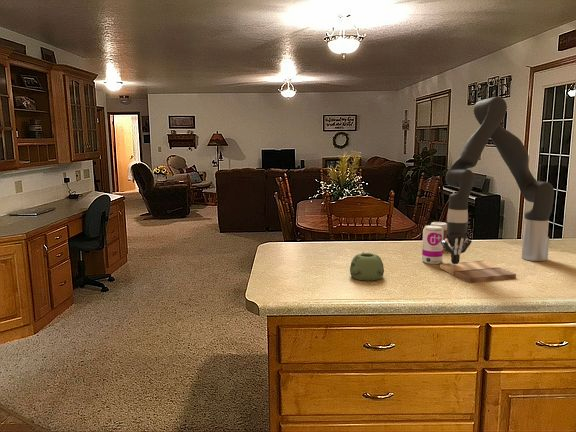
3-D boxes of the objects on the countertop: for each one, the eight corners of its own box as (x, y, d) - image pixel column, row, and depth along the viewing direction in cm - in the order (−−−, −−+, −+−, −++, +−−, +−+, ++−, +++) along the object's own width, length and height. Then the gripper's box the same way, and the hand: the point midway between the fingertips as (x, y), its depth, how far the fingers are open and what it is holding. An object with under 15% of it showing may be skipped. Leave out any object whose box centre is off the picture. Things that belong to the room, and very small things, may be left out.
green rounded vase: (387, 282, 175) (388, 258, 174) (352, 282, 175) (352, 259, 174) (378, 270, 191) (378, 248, 190) (345, 270, 191) (346, 249, 189)
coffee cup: (424, 246, 231) (425, 221, 229) (443, 245, 232) (444, 221, 230) (432, 250, 222) (433, 225, 220) (451, 250, 223) (452, 224, 221)
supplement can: (443, 264, 198) (444, 229, 195) (422, 263, 199) (423, 228, 197) (441, 259, 206) (442, 225, 203) (421, 259, 207) (422, 224, 205)
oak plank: (483, 264, 196) (483, 260, 196) (498, 271, 188) (498, 267, 188) (440, 267, 191) (440, 263, 191) (453, 275, 183) (453, 271, 183)
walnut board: (499, 271, 187) (499, 267, 187) (515, 278, 179) (516, 273, 178) (454, 275, 182) (454, 271, 182) (469, 282, 174) (469, 278, 173)
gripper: (466, 218, 192) (463, 260, 195) (436, 219, 189) (434, 262, 192) (478, 221, 185) (475, 264, 188) (447, 222, 182) (445, 267, 185)
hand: (455, 263), depth 190 cm, fingers closed
